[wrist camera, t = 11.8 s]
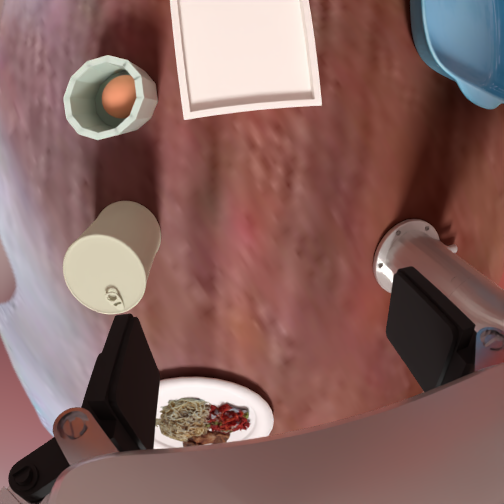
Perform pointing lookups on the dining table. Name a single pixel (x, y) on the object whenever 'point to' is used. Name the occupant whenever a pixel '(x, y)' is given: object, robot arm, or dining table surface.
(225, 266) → the dining table surface
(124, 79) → the ball
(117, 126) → the cup
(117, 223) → the can
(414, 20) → the casserole dish
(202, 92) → the tray
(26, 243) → the dining table surface
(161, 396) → the plated food
